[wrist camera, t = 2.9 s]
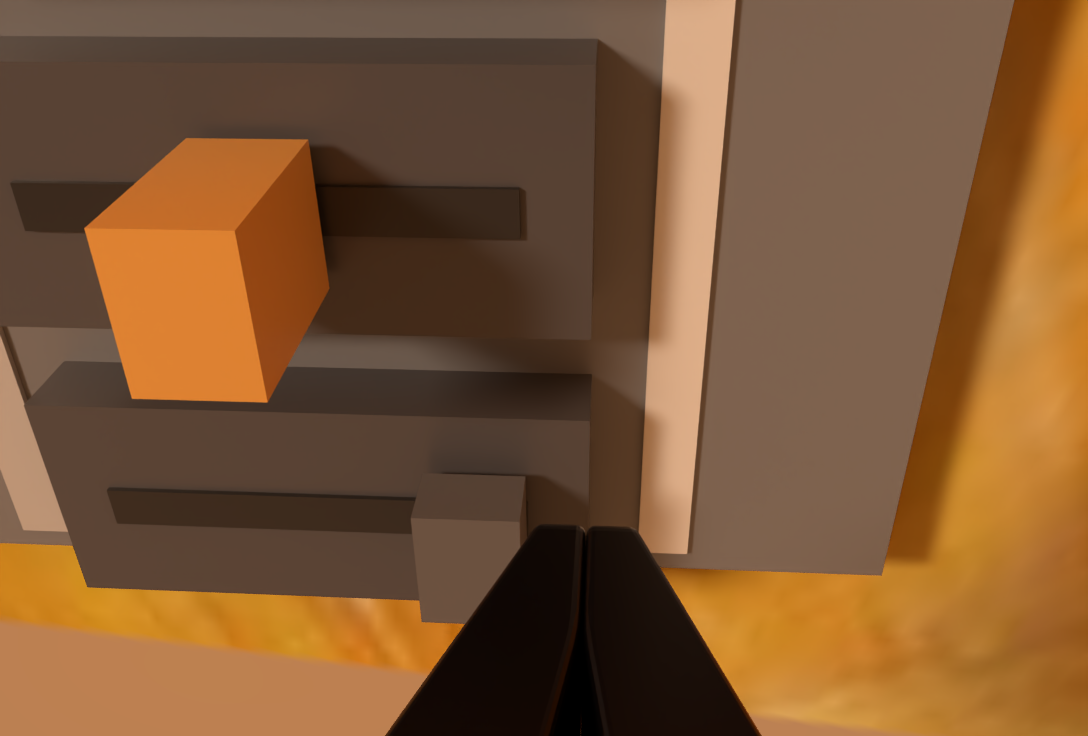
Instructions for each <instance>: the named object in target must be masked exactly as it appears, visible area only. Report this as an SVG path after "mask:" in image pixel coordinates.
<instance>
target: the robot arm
mask: <svg viewBox="0 0 1088 736" xmlns="http://www.w3.org/2000/svg"><path fill="white" fill-rule="evenodd" d="M385 736H761V734H760V733H759V731H758V729H757V727H756V726H755V724H754V722H753V721H752V719H751V717H750V716H749V714H748V712H747V711H746V709H745V707H744V706H743V704H742V703H741V701H740V699H739V698H738V696H737V694H736V693H735V691H734V689H733V688H732V686H731V684H730V683H729V681H728V679H727V678H726V676H725V674H724V673H723V671H722V669H721V668H720V666H719V664H718V663H717V661H716V659H715V658H714V656H713V654H712V653H711V651H710V650H709V648H708V646H707V645H706V643H705V641H704V640H703V638H702V636H701V635H700V633H699V631H698V630H697V628H696V626H695V625H694V623H693V621H692V620H691V618H690V616H689V615H688V613H687V611H686V610H685V608H684V606H683V605H682V603H681V602H680V600H679V598H678V597H677V595H676V593H675V592H674V590H673V588H672V587H671V585H670V583H669V582H668V580H667V578H666V577H665V575H664V573H663V572H662V570H661V568H660V567H659V565H658V563H657V562H656V560H655V558H654V557H653V555H652V554H651V552H650V550H649V549H648V547H647V545H646V544H645V542H644V540H643V539H642V537H641V535H640V534H639V533H638V531H637V530H636V529H634V528H632V527H627V526H596V525H595V526H592V527H590V528H589V529H588V530H587V533H586V534H585V530H584V528H583V527H581V526H580V525H566V524H540V525H538V526H536V527H535V528H534V529H533V530H532V532H531V533H530V534H529V536H528V537H527V539H526V540H525V541H524V543H523V544H522V546H521V547H520V548H519V550H518V551H517V553H516V554H515V555H514V557H513V558H512V559H511V561H510V562H509V564H508V565H507V566H506V568H505V569H504V571H503V572H502V573H501V575H500V576H499V578H498V579H497V580H496V582H495V583H494V585H493V586H492V587H491V589H490V590H489V592H488V593H487V594H486V596H485V597H484V599H483V600H482V601H481V603H480V604H479V605H478V607H477V608H476V610H475V611H474V612H473V614H472V615H471V617H470V618H469V619H468V621H467V622H466V624H465V625H464V626H463V628H462V629H461V631H460V632H459V633H458V635H457V636H456V638H455V639H454V640H453V642H452V643H451V645H450V646H449V647H448V649H447V650H446V652H445V653H444V654H443V656H442V657H441V658H440V660H439V661H438V663H437V664H436V665H435V667H434V668H433V670H432V671H431V672H430V674H429V675H428V677H427V678H426V680H425V681H424V682H423V684H422V685H421V687H420V688H419V689H418V691H417V692H416V694H415V695H414V696H413V698H412V699H411V700H410V702H409V703H408V705H407V706H406V708H405V709H404V710H403V711H402V713H401V714H400V716H399V717H398V719H397V720H396V721H395V723H394V724H393V725H392V727H391V728H390V730H389V731H388V733H387V734H386V735H385Z"/></svg>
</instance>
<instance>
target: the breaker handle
mask: <svg viewBox="0 0 1088 736" xmlns="http://www.w3.org/2000/svg"><path fill="white" fill-rule="evenodd" d="M84 229H85V233H86V236H87V240H88V243H89V247H90V251H91V254H92V258H93V261H94V265H95V268H96V272H97V276H98V279H99V283H100V286H101V290H102V294H103V297H104V301H105V304H106V308H107V311H108V315H109V319H110V322H111V326H112V329H113V333H114V336H115V340H116V344H117V347H118V351H119V354H120V358H121V362H122V365H123V369H124V372H125V376H126V379H127V383H128V387H129V390H130V394H131V397H132V399H158V400H194V401H231V402H267V403H268V401H269V399H270V397H271V395H272V394H273V392H274V390H275V388H276V386H277V384H278V382H279V381H280V379H281V377H282V375H283V373H284V371H285V370H286V368H287V366H288V364H289V362H290V360H291V359H292V357H293V355H294V353H295V351H296V349H297V347H298V346H299V344H300V342H301V340H302V338H303V336H304V335H305V333H306V331H307V329H308V327H309V325H310V324H311V322H312V320H313V318H314V316H315V314H316V312H317V311H318V309H319V307H320V305H321V303H322V301H323V300H324V298H325V296H326V294H327V292H328V290H329V289H330V288H329V281H328V274H327V267H326V260H325V253H324V246H323V239H322V232H321V225H320V218H319V211H318V204H317V197H316V190H315V182H314V175H313V168H312V161H311V154H310V147H309V140H308V139H217V138H186V139H185V140H183V141H182V142H181V143H180V144H179V145H178V146H177V147H176V148H174V149H173V150H172V151H171V152H170V153H169V154H168V155H167V156H165V157H164V158H163V159H162V160H161V161H160V162H159V163H157V164H156V165H155V166H154V167H153V168H152V169H151V170H150V171H148V172H147V173H146V174H145V175H144V176H143V177H142V178H141V179H139V180H138V181H137V182H136V183H135V184H134V185H133V186H132V187H130V188H129V189H128V190H127V191H126V192H125V193H124V194H122V195H121V196H120V197H119V198H118V199H117V200H116V201H115V202H113V203H112V204H111V205H110V206H109V207H108V208H107V209H106V210H104V211H103V212H102V213H101V214H100V215H99V216H98V217H96V218H95V219H94V220H93V221H92V222H91V223H90V224H89V225H87V226H86V227H85V228H84Z"/></svg>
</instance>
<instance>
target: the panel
mask: <svg viewBox="0 0 1088 736" xmlns="http://www.w3.org/2000/svg"><path fill="white" fill-rule="evenodd" d="M1013 4H1014V0H0V543H17V544H44V545H71V546H73V547H74V550H75V553H76V556H77V559H78V562H79V565H80V567H81V570H82V573H83V576H84V579H85V582H86V584H87V587H94V588H119V589H144V590H169V591H195V592H220V593H245V594H270V595H295V596H321V597H346V598H371V599H396V600H420V610H421V619H422V622H435V623H459V624H466V622H467V621H468V619H469V618H470V617H471V615H472V614H473V612H474V611H475V610H476V608H477V607H478V605H479V604H480V603H481V601H482V600H483V599H484V597H485V596H486V594H487V593H488V592H489V590H490V589H491V587H492V586H493V585H494V583H495V582H496V580H497V579H498V578H499V576H500V575H501V573H502V572H503V571H504V569H505V568H506V566H507V565H508V564H509V562H510V561H511V559H512V558H513V557H514V555H515V554H516V553H517V551H518V550H519V548H520V547H521V546H522V544H523V543H524V541H525V540H526V539H527V537H528V536H529V534H530V533H531V532H532V530H533V529H534V528H535V527H536V526H538V525H540V524H566V525H580V526H581V527H583V528H584V530H585V534H586V533H587V530H588V529H589V528H590V527H592V526H595V525H596V526H627V527H632V528H634V529H636V530H637V531H638V533H639V534H640V535H641V537H642V539H643V540H644V542H645V544H646V545H647V547H648V549H649V550H650V552H651V554H652V555H653V557H654V558H655V560H656V562H657V563H658V565H659V567H665V568H692V569H719V570H746V571H773V572H800V573H827V574H854V575H881V576H882V572H883V567H884V563H885V559H886V554H887V550H888V546H889V541H890V537H891V533H892V528H893V524H894V520H895V515H896V511H897V507H898V502H899V498H900V494H901V489H902V485H903V481H904V476H905V472H906V468H907V463H908V459H909V455H910V450H911V446H912V442H913V437H914V433H915V429H916V424H917V420H918V416H919V411H920V407H921V403H922V398H923V394H924V390H925V385H926V381H927V377H928V372H929V368H930V364H931V359H932V355H933V351H934V346H935V342H936V338H937V333H938V329H939V325H940V320H941V316H942V312H943V307H944V303H945V299H946V294H947V290H948V286H949V281H950V277H951V273H952V268H953V264H954V260H955V255H956V251H957V247H958V242H959V238H960V234H961V229H962V225H963V221H964V216H965V212H966V208H967V203H968V199H969V195H970V190H971V186H972V182H973V177H974V173H975V169H976V164H977V160H978V156H979V151H980V147H981V143H982V138H983V134H984V130H985V125H986V121H987V117H988V112H989V108H990V104H991V99H992V95H993V91H994V86H995V82H996V78H997V73H998V69H999V65H1000V60H1001V56H1002V52H1003V47H1004V43H1005V39H1006V34H1007V30H1008V26H1009V21H1010V17H1011V13H1012V8H1013ZM186 138H217V139H308V140H309V147H310V154H311V161H312V168H313V175H314V182H315V190H316V197H317V204H318V211H319V218H320V225H321V232H322V239H323V246H324V253H325V260H326V267H327V274H328V281H329V288H330V289H329V290H328V292H327V294H326V296H325V298H324V300H323V301H322V303H321V305H320V307H319V309H318V311H317V312H316V314H315V316H314V318H313V320H312V322H311V324H310V325H309V327H308V329H307V331H306V333H305V335H304V336H303V338H302V340H301V342H300V344H299V346H298V347H297V349H296V351H295V353H294V355H293V357H292V359H291V360H290V362H289V364H288V366H287V368H286V370H285V371H284V373H283V375H282V377H281V379H280V381H279V382H278V384H277V386H276V388H275V390H274V392H273V394H272V395H271V397H270V399H269V401H268V403H267V402H231V401H194V400H158V399H132V397H131V394H130V390H129V387H128V383H127V379H126V376H125V372H124V369H123V365H122V362H121V358H120V354H119V351H118V347H117V344H116V340H115V336H114V333H113V329H112V326H111V322H110V319H109V315H108V311H107V308H106V304H105V301H104V297H103V294H102V290H101V286H100V283H99V279H98V276H97V272H96V268H95V265H94V261H93V258H92V254H91V251H90V247H89V243H88V240H87V236H86V233H85V229H84V228H85V227H86V226H87V225H89V224H90V223H91V222H92V221H93V220H94V219H95V218H96V217H98V216H99V215H100V214H101V213H102V212H103V211H104V210H106V209H107V208H108V207H109V206H110V205H111V204H112V203H113V202H115V201H116V200H117V199H118V198H119V197H120V196H121V195H122V194H124V193H125V192H126V191H127V190H128V189H129V188H130V187H132V186H133V185H134V184H135V183H136V182H137V181H138V180H139V179H141V178H142V177H143V176H144V175H145V174H146V173H147V172H148V171H150V170H151V169H152V168H153V167H154V166H155V165H156V164H157V163H159V162H160V161H161V160H162V159H163V158H164V157H165V156H167V155H168V154H169V153H170V152H171V151H172V150H173V149H174V148H176V147H177V146H178V145H179V144H180V143H181V142H182V141H183V140H185V139H186Z"/></svg>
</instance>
